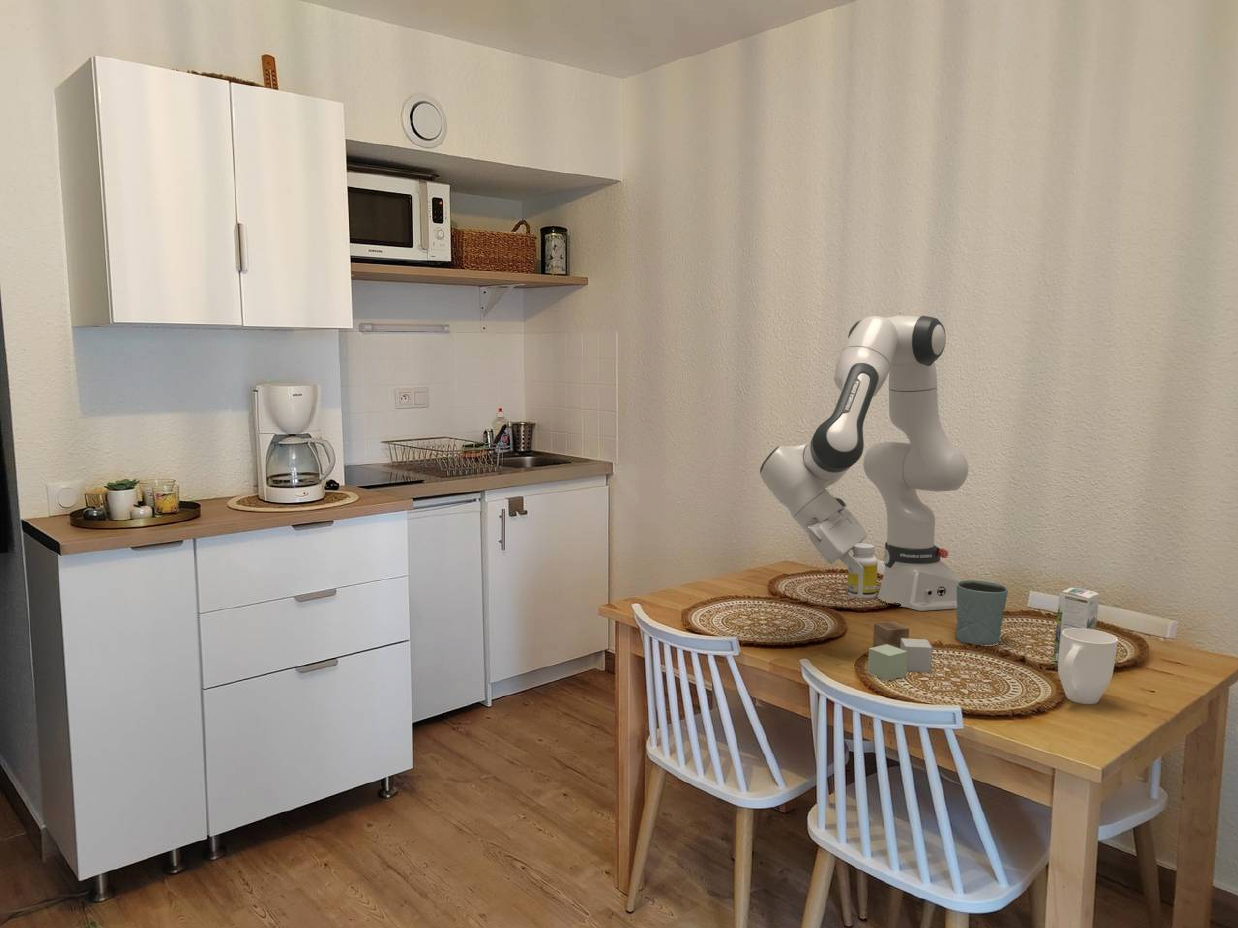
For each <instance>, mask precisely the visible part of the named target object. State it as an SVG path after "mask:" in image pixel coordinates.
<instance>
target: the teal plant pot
mask: <svg viewBox="0 0 1238 928" xmlns="http://www.w3.org/2000/svg"><path fill="white" fill-rule="evenodd" d="M956 588H957V608H956V620H957V622H956V632H955V634H956V639H957V641H958V642H960V643H963V644H965V643H974V644H979V645H993V644H997V643H999V644H1000V640H1001V633H1002V632H1001V630H1002V629H1001V627H1002V625H1003V619H1004V616H1005V614H1003V613H1004V611H1005V608H1006V603H1007V597H1008V593H1009V590H1008V588H1007V586H1004V585H1002V584H999V583H995V582H990V581H984V580H974V579H973V580H969V579H968V580H962V581H960V582H958V583H957V584H956Z"/></svg>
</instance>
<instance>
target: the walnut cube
mask: <svg viewBox="0 0 1238 928" xmlns="http://www.w3.org/2000/svg"><path fill="white" fill-rule="evenodd" d="M901 638H905V639H910V628H909V627H907V626H905V625H903V624H901V623H899V622H897V621H895V620H894V621H887V622H886V621H885V622H875V623H873V643H872V644H873V645H872V646H873V647H877V646H881V645H885V644H888V645H891V646H894V647H896V648H899V649H900V645H901Z"/></svg>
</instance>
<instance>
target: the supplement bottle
mask: <svg viewBox="0 0 1238 928" xmlns="http://www.w3.org/2000/svg"><path fill="white" fill-rule="evenodd" d="M874 554H875V545H874V544H871V543H865V542H862V543H857V544H856V545H855V546H854V547H853V550H852V556H853V557H854V558H855V559H856V560H857V561H858V562H859V561H860V562H861V563H862V565H863V566H864V567H865V569H864V570H863V571H862V572H861V573H859V574H856V573H855V572H854V571H853V570H852V569H851V568H850V567H848V566H847V567H848V569H847V570H848V571H847V593H848V595H849V596H850V597H852V598H857V599H858V598H859V599H872V598H874V597H876V596H877V587H878V563H879V562H878V559H877V557H876V556H875V555H874Z"/></svg>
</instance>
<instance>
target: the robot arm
mask: <svg viewBox="0 0 1238 928" xmlns="http://www.w3.org/2000/svg"><path fill="white" fill-rule="evenodd" d="M847 335H848V337H847V340H846V342H845V343H844V346H843V348H842V350H841V353H840V354H839V357H838V361H837V363H836V366H835V370H834V371H835V372H834V377H833V381H834V383H835V385H836V387H837V388H838V390H839V391H840V393H839V396H838V399H837V402H836V404H835V407H834V410H833V411H832V414H831V415H830V416H829V417H828V418H826V420H825V421H823V422H822V423H821V424H820V425H819V426H818V427H817V429H816V430H815V431H814V434H813V435H812V437H811V439H810V440H809V441H808V442H805V443H803V444H798V445H790V446H786V445H779V446H777V447H776V448H774V449H773V450H772V451H771V452H770V453H769V454H768V456H767V457H766V458H765V459H764V461H763V462H762V464H761V466H760V468H759V475H760V478H761V479H762V481H763V483H764V484H765V486H766V487H767V488H768V490H769V491H770V492H771V494H772V495H773V496H774V497H775V498H776V501H777V500H778V502H779V503H780V504H782V505H783V506H784V507H786V509H787V510H788V511H789V513H790V515H791V517H792V518H793V519H794V521H796V523H797V524H798V525H799V526H800V527H801V528H802V530H803V531H804V532H805V533H806V534H807V536H808V539H809V541H810V542H811V544H812V545H813V546H814V547H815V549H816V550H817V551H818V552H819V554H820V556H822V558H823V559H824V560H825V561H826V562H827V563H830V564H834V563H836V562H837V561H838V560H840V561H841V562H842V563H843V564H844V565H845V566H847V567H850V568H851V569H852V570H853V571H854V572H855V573H856V574H859V573H861V572H862V571H863V570H864V569H865V567H864V566H863V565H862V563H861V562H860V561H859V562H858V561H857V560H856V559H855V558H854V557H853V556H852V555H853V553H852V552H851V551H853V547H854V546H855V545H856V544H857V543H863V541H864V540H865V539H867V538H868V535H867V532H866V530H865V529H864V527H863V525H862V524H861V523H860V522H859V521H858V520H857V518H856V517H855V516H854V514H853V513H852V512H851V511H850V510H849V509H847V506H848V505H847V503H846V502H845V501H844V500H843V498H840V497H836V496H834V495H832V494H831V493H830V492H829V490H827V489H826V488H828V487H830V486H832V485H834V484H836V483H837V482H839V481H840V479H842V478H843V476H844V475H845V474H846V473H847V472H848V470H849V469H850V468H851V467H852V466H853V465H855V464H856V463H857V462H858V461H859V460H860V458H862V457H861V456H862V455H863V452H864V447H865V445H864V442H865V441H864V431H863V430H864V429H863V428H864V423H865V418H866V416H867V413H868V410H869V407H870V405H871V402H872V399H873V398H874V397H875V396H877V394H878V393H879V391H880V390H881V388H882V387H883V385H884V383H885V382H886V379H887V378H888V408H889V409H888V411H889V412H888V413H889V418H890V419H889V420H890V421H891V424H892V425H893V426H895V427H896V428H897V429H899V430H900V431H902V432H903V433H904V434H905V435H906V437H907V439H908V440H909V443H907V442H898V441H897V442H896V441H888V442H879V443H874V444H872V445H871V446H870V447H869V448H868V449H867V450H866V453H865V454H864V457H863V463H862V465H863V466H862V467H863V471H864V473H865V475H866V477H867V479H868V480H869V481H870V482H872V483H873V485H874V486H875V487H876V489H878V491H879V493H880V495H881V498H882V499H883V503H884V505H885V508H886V518H887V519H886V520H887V526H886V527H887V533H886V542H885V543H884V551H883V562H884V563H883V565H884V569H883V576H882V580H881V583H880V584H881V585H880V589H879V591H878V594H877V596H878V597H879V598H880V599H882V600H885V601H889V602H896V603H900V604H901V606H900V607H902V608H908V609H912V610H916V611H922V612H924V611H938V610H952V609H957V588H956V584H957V583H958V582H960V581H963V579H962V578H961V577H960V575H958V574H957V573H956V572H954V570H953V569H951V568H950V567H949V566H948V565H946V564H945V563H944V562H943V561H941V558H943V559H947V558H948V557H949V554H950V552H949V551H948V550H947V549H945V548H940V547H938V546H937V545H935V531H936V516H935V513H934V512H933V510H932V509H931V508H929V506H928V505H926V504H924V503H923V502H922V501H921V499H920V498H919V496H918V493H917V491H916V490H919V491H921V490H922V491H928V492H935V493H937V492H939V493H940V492H951V491H957V490H958V489H960V488H961V487H962V486H963V485H964V484H965V482H966V480H967V477H968V475H969V464H968V460H967V458H966V456H965V455H964V454H963V452H962V451H961V450H959V449H958V448H956V446H954V445H953V443H952V442H951V441H950V439H949V438H948V437H947V435H946V433H945V430H944V428H943V427H942V424H941V421H940V414H939V404H938V403H939V402H938V401H939V399H938V378H937V377H938V375H937V368H936V361H937V360H938V359H939V358H940V357H941V356H942V354H943V352H944V351H945V347H946V337H947V336H946V330H945V327H944V325H943V324H942V322H941V321H940V319H938V318H936V317H934V316H928V315H922V316H915V315H894V316H879V315H871V316H867V317H864V318H862V319H860V320H858V321H856V322H855V323H854V324H853V326H852V327H851V328H850V330H849V331H848V334H847ZM878 597H877V598H878Z"/></svg>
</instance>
